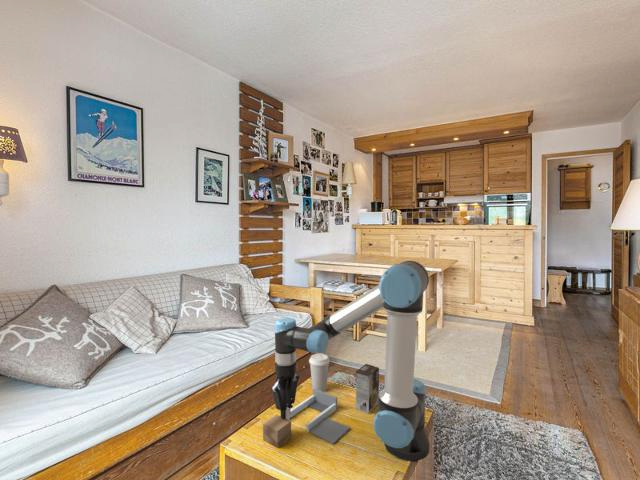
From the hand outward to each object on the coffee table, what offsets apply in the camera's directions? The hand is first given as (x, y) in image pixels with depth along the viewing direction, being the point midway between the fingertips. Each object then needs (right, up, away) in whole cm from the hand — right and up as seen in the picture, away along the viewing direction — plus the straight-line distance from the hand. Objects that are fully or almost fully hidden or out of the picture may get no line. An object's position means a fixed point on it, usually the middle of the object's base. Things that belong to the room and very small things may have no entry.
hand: (285, 425), depth 125 cm
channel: (+9, -2, +12) cm, 15 cm away
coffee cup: (+12, -1, +33) cm, 35 cm away
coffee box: (+32, -2, +18) cm, 37 cm away
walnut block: (-3, -3, -3) cm, 5 cm away
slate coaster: (+16, -3, +2) cm, 16 cm away
